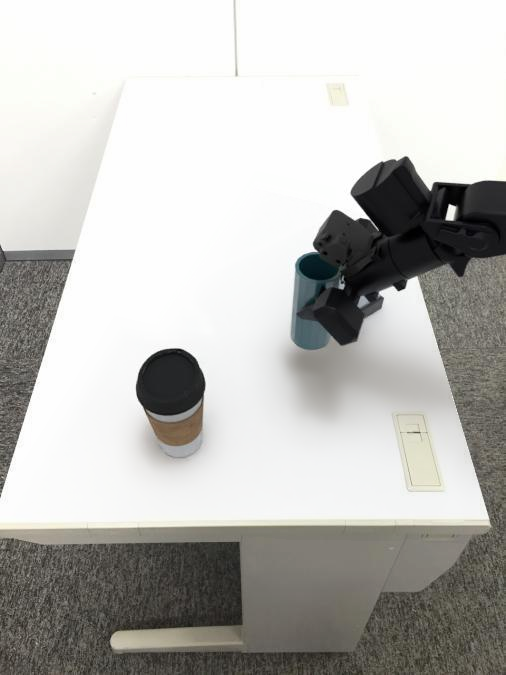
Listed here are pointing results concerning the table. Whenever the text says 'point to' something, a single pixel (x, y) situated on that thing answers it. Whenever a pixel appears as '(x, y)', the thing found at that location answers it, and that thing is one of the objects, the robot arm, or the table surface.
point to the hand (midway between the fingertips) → (305, 299)
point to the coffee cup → (173, 399)
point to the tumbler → (311, 299)
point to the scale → (368, 304)
